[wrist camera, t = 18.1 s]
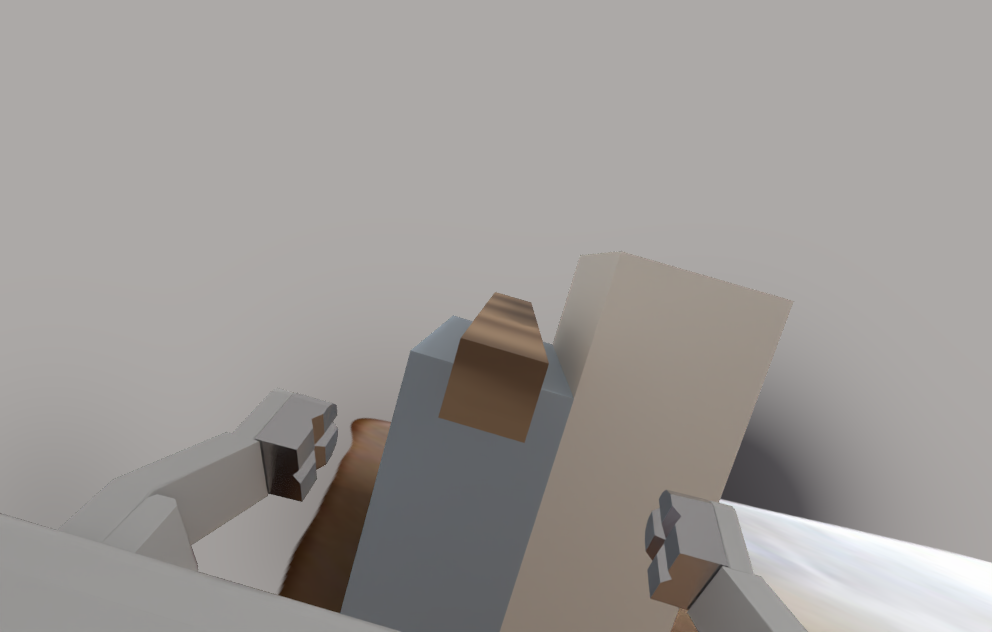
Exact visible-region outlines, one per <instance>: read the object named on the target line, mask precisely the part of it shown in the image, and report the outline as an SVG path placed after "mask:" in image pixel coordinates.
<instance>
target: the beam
mask: <svg viewBox="0 0 992 632" xmlns="http://www.w3.org/2000/svg"><path fill="white" fill-rule="evenodd" d="M548 365H549V362H548V359H547V355H546V352H545V348H544V345H543V341H542V338H541V335H540V331H539V328H538V324H537V321H536V317H535V314H534V311H533V307H532V304H531V302H527V301H524V300H521V299H517V298H514V297H510V296H507V295H503V294H500V293H494V295H493V296H492V297H491V298H490V300H489V301H488V302H487V304H486V305H485V306H484V308H483V309H482V311H481V312H480V313H479V314H478V316H477V317H476V318H475V320H474V321H473V322H472V324H471V325H470V326H469V327H468V329H467V330H466V331H465V333H464V334H463V335H462V337H461V338H460V342H459V345H458V349H457V353H456V356H455V360H454V363H453V367H452V370H451V374H450V377H449V381H448V385H447V388H446V392H445V395H444V399H443V402H442V406H441V409H440V413H439V416H438V418H441V419H445V420H448V421H452V422H455V423H458V424H462V425H465V426H469V427H472V428H475V429H479V430H482V431H485V432H489V433H492V434H496V435H499V436H502V437H506V438H509V439H513V440H516V441H519V442H523V443H525V440H526V437H527V433H528V430H529V427H530V424H531V420H532V417H533V414H534V411H535V407H536V404H537V401H538V398H539V394H540V391H541V388H542V385H543V382H544V378H545V375H546V372H547V369H548Z"/></svg>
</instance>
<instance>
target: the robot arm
mask: <svg viewBox="0 0 992 632" xmlns="http://www.w3.org/2000/svg"><path fill="white" fill-rule="evenodd" d="M336 416H337V406H336V405H335V404H333V403H330V402H326V401H323V400H319V399H316V398H312V397H309V396H306V395H302V394H298V393H294V392H291V391H287V390H284V389H280V388H277V389H275V390H273V391H271V392H270V393H269V394H268V395H267V396H266V397H265V398H264V400H263V401H262V402H261V403H260V404H259V405H258V406H257V407H256V408H255V409H254V410H253V411H252V412H251V414H250V415H249V416H248V417H247V418H246V419H245V420H244V421H243V422H242V423H241V424H240V425H239V426H238V428H237V429H236V430H235V431H234V432H233V433H228V432H225V433H223V434H221V435H218V436H216V437H213V438H211V439H209V440H207V441H204V442H201V443H199V444H197V445H194V446H192V447H189V448H187V449H185V450H182V451H180V452H177V453H175V454H173V455H171V456H168V457H165V458H163V459H161V460H158V461H156V462H153V463H151V464H149V465H146V466H144V467H141V468H140V469H137V470H135V471H132V472H129V473H127V474H125V475H122V476H120V477H117V478H115V479H113V480H112V481H111V482H110V483H108V484H107V485H106V486H105V487H104V488H103V489H102V490H101V491H100V492H98V493H97V495H95V496H94V497H93V498H92V499H91V500H90V501H89V502H88V503H86V504H85V505H84V506H83V507H82V508H81V509H80V510H79V511H78V512H76V513H75V514H74V515H73V516H72V517H71V518H70V519H69V520H68V521H67V522H65V523H64V524H63V525H62V526H61V527H60V528H59V529H58V530H55V529H52V528H49V527H45V526H42V525H38V524H35V523H32V522H28V521H25V520H22V519H18V518H15V517H11V516H8V515H5V514H1V513H0V632H401V631H398V630H395V629H391V628H388V627H384V626H381V625H378V624H374V623H371V622H367V621H364V620H361V619H357V618H354V617H350V616H347V615H344V614H340V613H337V612H334V611H330V610H327V609H323V608H320V607H317V606H313V605H310V604H306V603H303V602H300V601H296V600H293V599H289V598H286V597H283V596H279V595H276V594H272V593H269V592H266V591H262V590H259V589H255V588H252V587H249V586H245V585H242V584H239V583H235V582H231V581H228V580H225V579H222V578H218V577H214V576H211V575H208V574H205V573H201V572H198V565H197V561H196V558H195V556H194V553H193V549H192V547H191V545H192V544H194V543H195V542H197V541H198V540H200V539H202V538H203V537H205V536H206V535H208V534H209V533H211V532H212V531H214V530H216V529H217V528H219V527H220V526H222V525H223V524H225V523H226V522H228V521H229V520H231V519H233V518H234V517H236V516H237V515H239V514H240V513H242V512H243V511H245V510H246V509H248V508H249V507H251V506H253V505H254V504H256V503H257V502H259V501H260V500H262V499H263V498H265V497H267V496H268V493H269V494H273V495H277V496H281V497H285V498H289V499H293V500H297V501H301V502H302V501H303V500H304V498H305V497H306V495H307V494H308V492H309V490H310V489H311V487H312V486H313V484H314V482H315V481H316V479H317V476H316V470H317V469H319V468H320V467H322V466H324V465H326V464H327V462H328V460H329V459H330V457H331V456H332V453H333V451H334V448H335V446H336V442H337V437H338V428H337V426H336V425H335V424H334V422H333V420H334V419H335V418H336ZM659 506H660V508H658V509H655V510H653V511H652V512H651V514H650V516H649V518H648V521H647V525H646V530H645V550H646V552H647V554H648V555H649V557H650V558H651V560H652V562H651V564H650V566H649V568H648V569H647V572H648V582H649V592H650V599H653V600H656V601H660V602H663V603H666V604H669V605H673V606H676V607H679V608H682V609H686V610H688V612H687V613H688V614H689V616H690V618H691V620H692V621H693V623H694V625H695V627H696V628H697V630H698V632H808V631H807V630H806V629H805V628H804V627H803V625H802V624H801V623H800V622H799V621H798V619H797V618H796V617H795V616H794V615H793V614H792V612H791V611H790V610H789V609H788V608H787V606H786V605H785V604H784V603H783V602H782V600H781V599H780V598H779V597H778V596H777V595H776V593H775V592H774V591H773V590H772V589H771V587H770V586H769V585H768V584H767V583H766V582H765V580H764V579H763V578H762V577H761V576H758V575H755V574H754V571H753V568H752V564H751V561H750V558H749V554H748V551H747V548H746V544H745V541H744V538H743V534H742V531H741V527H740V524H739V521H738V517H737V514H736V511H735V509H734V508H733V507H732V506H729V505H725V504H721V503H717V502H713V501H708V500H706V499H702V498H698V497H694V496H690V495H686V494H682V493H678V492H674V491H670V490H665V491H664V492H662V494H661V496H660V498H659Z"/></svg>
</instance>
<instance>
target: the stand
mask: <svg viewBox="0 0 992 632" xmlns="http://www.w3.org/2000/svg"><path fill="white" fill-rule="evenodd" d="M792 305H793V301H791V300H788V299H785V298H781V297H778V296H774V295H770V294H767V293H764V292H760V291H757V290H753V289H750V288H746V287H743V286H739V285H736V284H732V283H729V282H725V281H722V280H719V279H715V278H712V277H708V276H705V275H701V274H698V273H694V272H691V271H687V270H684V269H681V268H677V267H674V266H670V265H666V264H663V263H660V262H656V261H653V260H649V259H646V258H642V257H639V256H635V255H632V254H628V253H625V252H622V251H620V252H609V253H600V254H599V253H598V254H588V255H580V258H579V261H578V264H577V267H576V271H575V274H574V277H573V280H572V283H571V287H570V290H569V293H568V296H567V300H566V303H565V306H564V309H563V313H562V316H561V319H560V322H559V325H558V329H557V332H556V335H555V338H554V342H553V345H552V344H549V343H545V342H543V345H544V348H545V352H546V355H547V359H548V362H549V365H548V369H547V372H546V375H545V378H544V382H543V385H542V388H541V391H540V394H539V398H538V401H537V404H536V407H535V411H534V414H533V417H532V420H531V424H530V427H529V430H528V433H527V437H526V440H525V443H523V442H519V441H516V440H513V439H509V438H506V437H502V436H499V435H496V434H492V433H489V432H485V431H482V430H479V429H475V428H472V427H469V426H465V425H462V424H458V423H455V422H452V421H448V420H445V419H441V418H438V416H439V413H440V409H441V406H442V402H443V399H444V395H445V392H446V388H447V385H448V381H449V377H450V374H451V370H452V367H453V363H454V360H455V356H456V353H457V349H458V345H459V342H460V338H461V337H462V335H463V334H464V333H465V331H466V330H467V329H468V327H469V326H470V325H471V324H472V322H473V321H470V320H466V319H463V318H460V317H456V316H452V317H451V318H450V319H448V320H447V321H446V322H445V323H443V324H442V325H441V326H440V327H439V328H438V329H436V330H435V331H434V332H433V333H431V334H430V335H429V336H428V337H427V338H425V339H424V340H423V341H422V342H420V343H419V344H418V345H417V346H416V347H414V348H413V349H412V350H411V351H410V355H409V358H408V362H407V366H406V370H405V374H404V377H403V381H402V385H401V388H400V392H399V396H398V399H397V404H396V407H395V411H394V414H393V418H392V422H391V426H390V429H389V433H388V437H387V440H386V444H385V448H384V452H383V455H382V459H381V463H380V467H379V470H378V474H377V478H376V481H375V485H374V489H373V493H372V496H371V500H370V504H369V508H368V511H367V515H366V519H365V522H364V526H363V530H362V534H361V537H360V541H359V545H358V549H357V552H356V556H355V560H354V563H353V567H352V571H351V575H350V578H349V582H348V586H347V590H346V593H345V597H344V601H343V604H342V608H341V612H340V614H344V615H347V616H350V617H354V618H357V619H361V620H364V621H367V622H371V623H374V624H378V625H381V626H384V627H388V628H391V629H395V630H398V631H401V632H671V629H672V627H673V624H674V621H675V619H676V616H677V613H678V610H679V607H676V606H673V605H669V604H666V603H663V602H660V601H656V600H653V599H650V592H649V582H648V572H647V569H648V568H649V566H650V564H651V562H652V560H651V558H650V557H649V555H648V554H647V552H646V550H645V530H646V525H647V521H648V518H649V516H650V514H651V512H652V511H653V510H655V509H658V508H660V506H659V498H660V496H661V494H662V492H664V491H665V490H670V491H674V492H678V493H682V494H686V495H690V496H694V497H698V498H702V499H706V500H708V501H713V502H717V503H719V500H720V497H721V495H722V492H723V490H724V487H725V484H726V482H727V479H728V476H729V474H730V471H731V468H732V466H733V463H734V460H735V458H736V455H737V452H738V449H739V446H740V444H741V441H742V439H743V436H744V433H745V430H746V428H747V425H748V423H749V420H750V417H751V414H752V412H753V409H754V406H755V404H756V401H757V398H758V396H759V393H760V390H761V388H762V385H763V382H764V380H765V377H766V374H767V372H768V369H769V366H770V364H771V361H772V358H773V356H774V353H775V350H776V348H777V345H778V342H779V339H780V337H781V334H782V331H783V329H784V326H785V323H786V320H787V318H788V315H789V312H790V310H791V307H792Z"/></svg>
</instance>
